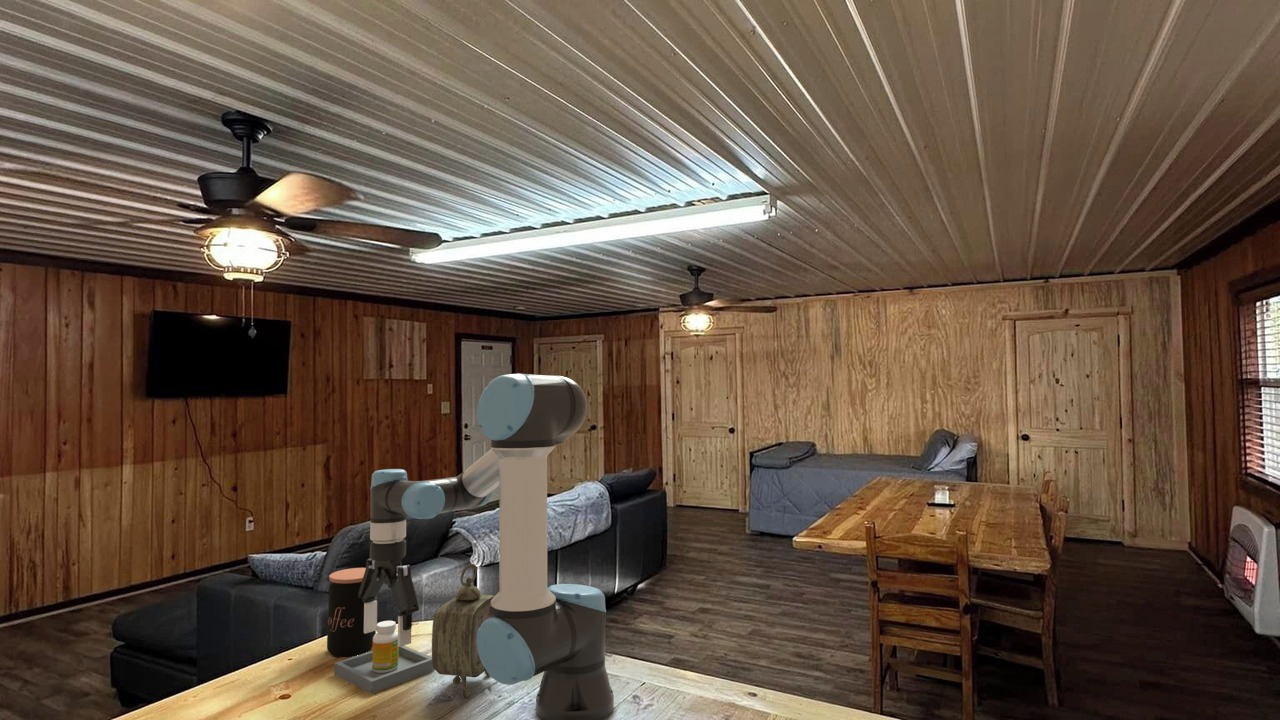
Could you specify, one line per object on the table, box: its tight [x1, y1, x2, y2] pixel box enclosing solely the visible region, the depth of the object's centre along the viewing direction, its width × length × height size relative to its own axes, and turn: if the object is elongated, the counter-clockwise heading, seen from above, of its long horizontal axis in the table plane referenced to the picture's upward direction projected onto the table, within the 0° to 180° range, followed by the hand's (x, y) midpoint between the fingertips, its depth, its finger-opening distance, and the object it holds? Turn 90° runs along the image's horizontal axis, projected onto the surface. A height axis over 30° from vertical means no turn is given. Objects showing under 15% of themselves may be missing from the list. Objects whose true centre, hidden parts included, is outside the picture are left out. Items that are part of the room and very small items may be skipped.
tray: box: [333, 645, 436, 695], centre depth 144 cm, size 15×15×2 cm
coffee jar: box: [326, 567, 378, 658], centre depth 157 cm, size 11×11×18 cm
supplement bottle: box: [372, 620, 399, 673], centre depth 144 cm, size 5×5×10 cm
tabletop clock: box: [431, 563, 496, 698], centre depth 138 cm, size 14×9×25 cm, turn 168°
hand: (386, 638), depth 144 cm, fingers open, 13 cm apart
